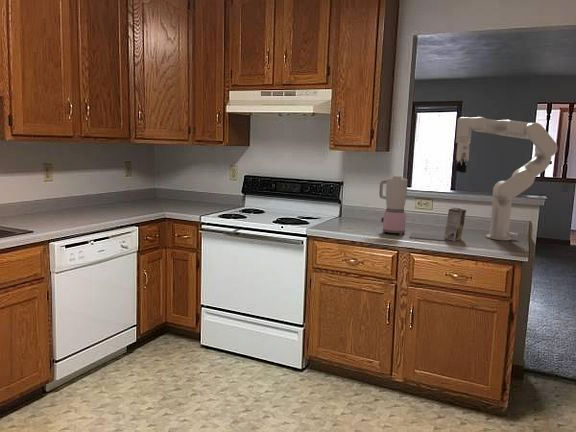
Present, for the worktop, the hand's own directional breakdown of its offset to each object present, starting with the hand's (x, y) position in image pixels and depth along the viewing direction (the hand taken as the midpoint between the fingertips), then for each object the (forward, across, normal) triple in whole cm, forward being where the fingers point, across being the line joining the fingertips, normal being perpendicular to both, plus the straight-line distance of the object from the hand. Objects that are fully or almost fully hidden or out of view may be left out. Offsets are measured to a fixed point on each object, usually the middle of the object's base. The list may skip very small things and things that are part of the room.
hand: (460, 171), depth 269 cm
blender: (+36, -4, +36) cm, 51 cm away
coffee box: (+35, -12, +4) cm, 38 cm away
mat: (+35, -10, +17) cm, 40 cm away
